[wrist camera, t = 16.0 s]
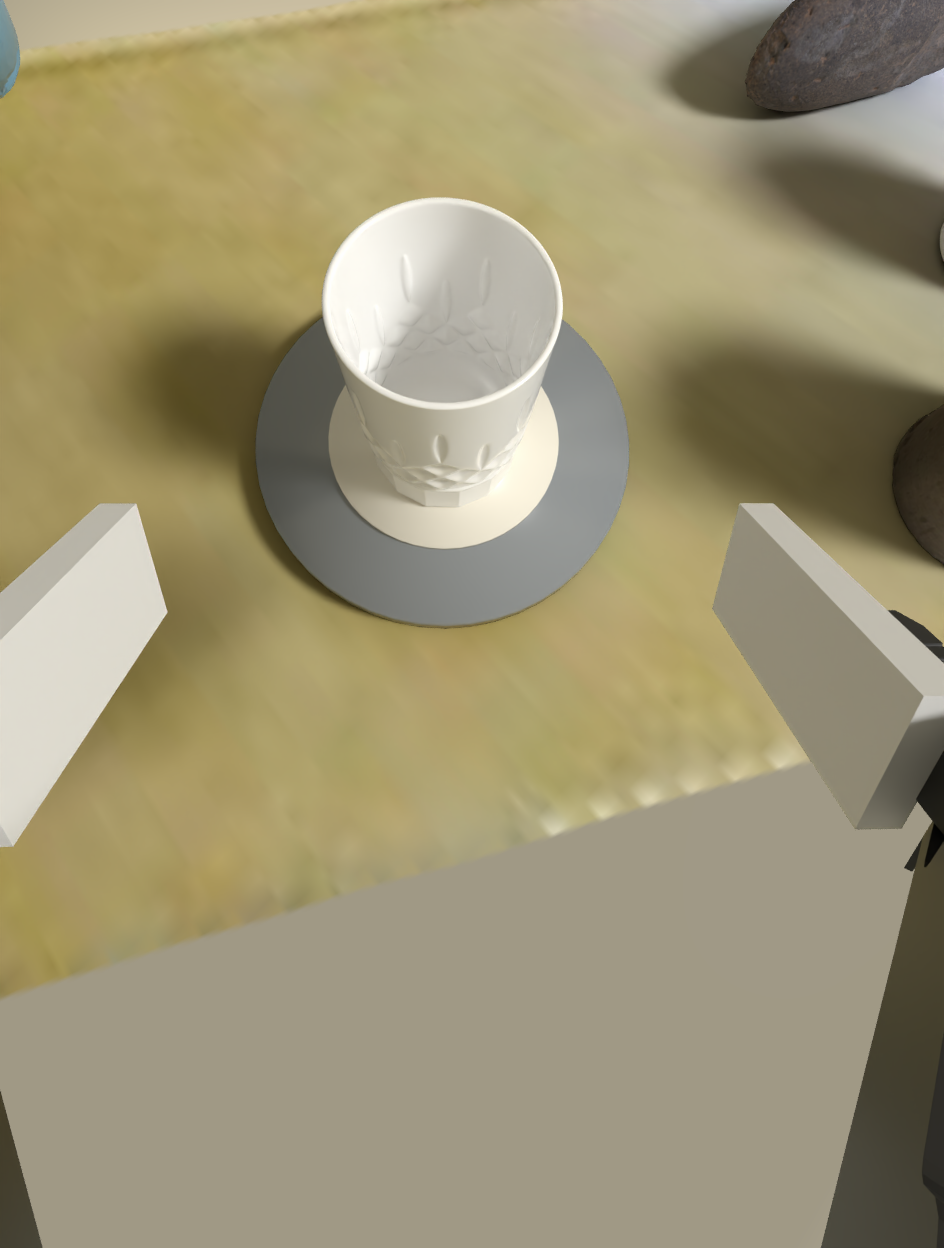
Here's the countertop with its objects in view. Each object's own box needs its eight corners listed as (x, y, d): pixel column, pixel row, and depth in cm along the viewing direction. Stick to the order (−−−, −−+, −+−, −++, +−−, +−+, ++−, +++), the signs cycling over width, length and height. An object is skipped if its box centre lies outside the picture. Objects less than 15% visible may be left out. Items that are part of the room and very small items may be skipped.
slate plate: (186, 451, 32) (173, 436, 31) (443, 233, 35) (442, 210, 34) (446, 707, 30) (445, 705, 29) (695, 453, 33) (706, 439, 32)
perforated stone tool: (745, 155, 37) (813, 19, 30) (706, 84, 38) (763, -64, 31) (971, 87, 38) (1083, -57, 32) (928, 20, 39) (1028, -134, 33)
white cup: (484, 346, 32) (501, 166, 22) (554, 483, 31) (604, 355, 21) (336, 403, 31) (284, 242, 21) (401, 547, 30) (378, 445, 20)
